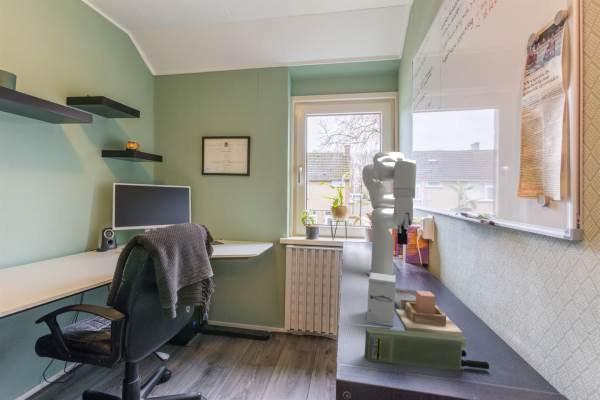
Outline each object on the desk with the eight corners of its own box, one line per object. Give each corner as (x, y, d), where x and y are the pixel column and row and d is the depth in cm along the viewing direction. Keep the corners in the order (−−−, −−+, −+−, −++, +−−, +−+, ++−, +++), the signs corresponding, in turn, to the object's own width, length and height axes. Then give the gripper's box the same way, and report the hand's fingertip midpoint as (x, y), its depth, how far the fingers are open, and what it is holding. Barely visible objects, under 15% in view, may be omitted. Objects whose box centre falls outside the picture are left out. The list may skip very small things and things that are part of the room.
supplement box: (366, 322, 74) (367, 278, 74) (368, 312, 81) (370, 271, 81) (393, 327, 71) (395, 281, 71) (394, 316, 78) (395, 274, 78)
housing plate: (394, 301, 90) (394, 287, 90) (415, 302, 89) (416, 289, 89) (400, 310, 82) (401, 296, 82) (423, 312, 81) (424, 298, 81)
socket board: (395, 311, 82) (396, 300, 82) (443, 316, 80) (443, 304, 80) (406, 331, 70) (407, 317, 70) (462, 336, 68) (463, 322, 68)
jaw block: (415, 313, 79) (416, 290, 79) (429, 314, 78) (430, 291, 78) (419, 319, 75) (420, 295, 75) (434, 321, 74) (435, 296, 74)
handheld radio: (364, 353, 59) (482, 366, 56) (366, 363, 56) (492, 377, 53) (365, 324, 59) (484, 335, 56) (367, 332, 56) (494, 344, 53)
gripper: (389, 194, 104) (387, 240, 104) (398, 193, 89) (396, 247, 89) (408, 194, 103) (406, 241, 103) (421, 194, 88) (419, 248, 88)
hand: (402, 243), depth 96 cm, fingers closed
